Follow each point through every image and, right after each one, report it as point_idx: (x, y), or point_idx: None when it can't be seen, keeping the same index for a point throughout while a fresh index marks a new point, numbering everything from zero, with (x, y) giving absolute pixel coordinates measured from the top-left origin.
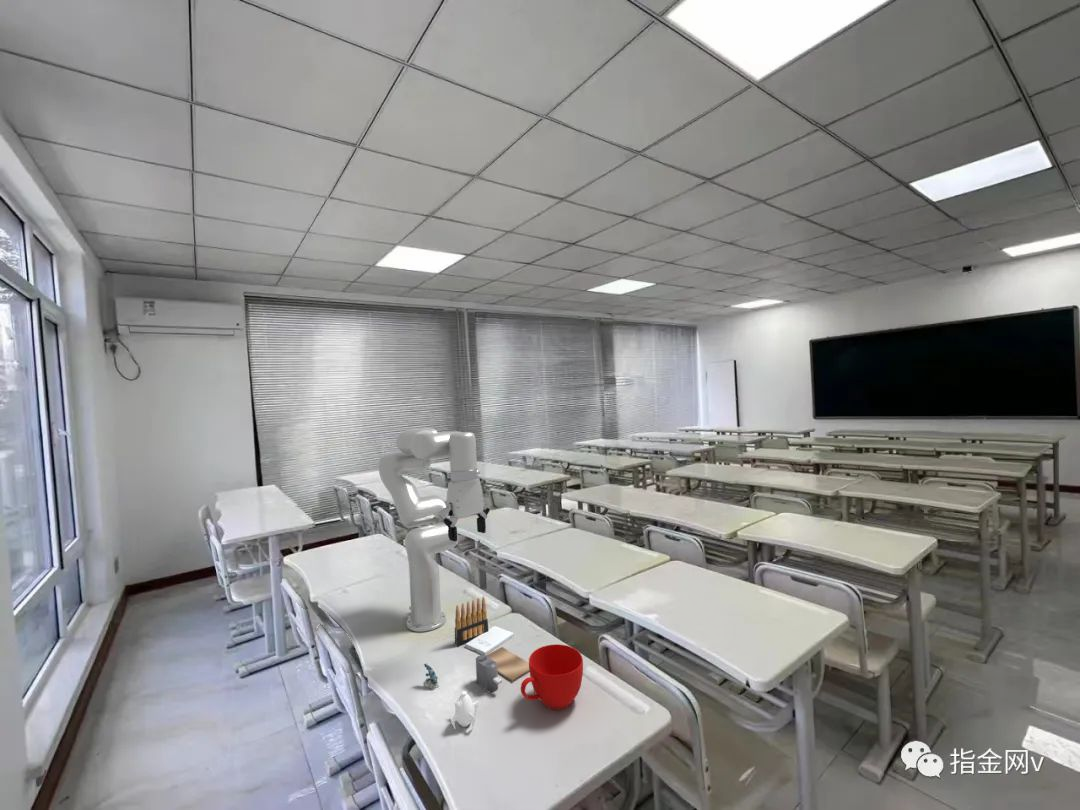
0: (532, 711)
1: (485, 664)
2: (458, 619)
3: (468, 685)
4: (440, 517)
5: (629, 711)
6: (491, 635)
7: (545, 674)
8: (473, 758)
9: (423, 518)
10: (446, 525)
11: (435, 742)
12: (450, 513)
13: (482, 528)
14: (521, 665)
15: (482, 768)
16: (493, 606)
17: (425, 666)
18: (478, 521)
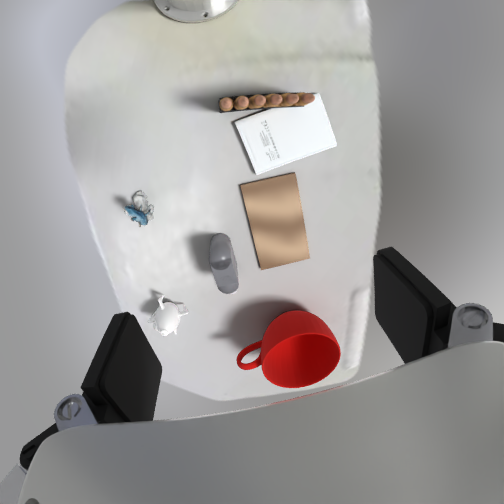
0: (253, 326)
1: (219, 279)
2: (225, 110)
3: (196, 239)
4: (12, 478)
5: (338, 363)
6: (296, 126)
7: (269, 380)
8: (166, 349)
9: None
10: (65, 405)
11: (132, 314)
12: (69, 449)
13: (387, 329)
14: (293, 244)
15: (172, 360)
16: (357, 12)
17: (127, 206)
18: (413, 320)
